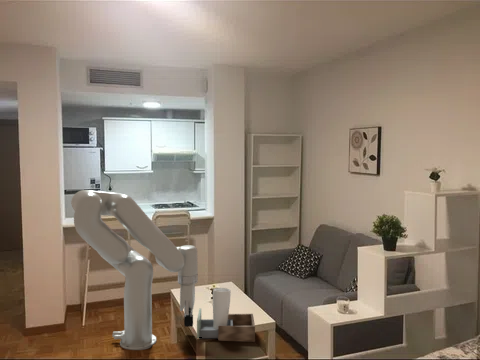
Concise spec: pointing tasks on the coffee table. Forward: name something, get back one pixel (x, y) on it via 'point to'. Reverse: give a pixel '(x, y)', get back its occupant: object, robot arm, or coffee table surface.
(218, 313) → the drinking glass
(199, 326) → the tray
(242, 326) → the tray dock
